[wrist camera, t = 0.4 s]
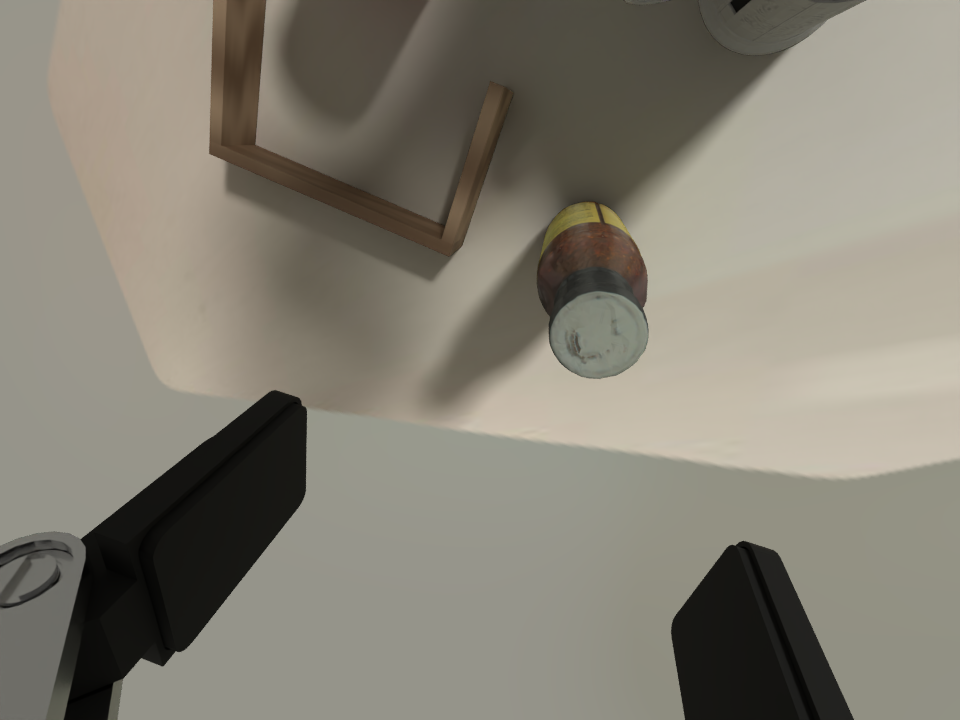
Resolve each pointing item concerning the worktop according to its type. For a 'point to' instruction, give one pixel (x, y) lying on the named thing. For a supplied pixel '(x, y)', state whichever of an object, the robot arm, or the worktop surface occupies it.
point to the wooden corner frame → (234, 142)
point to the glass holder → (764, 21)
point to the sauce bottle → (593, 291)
